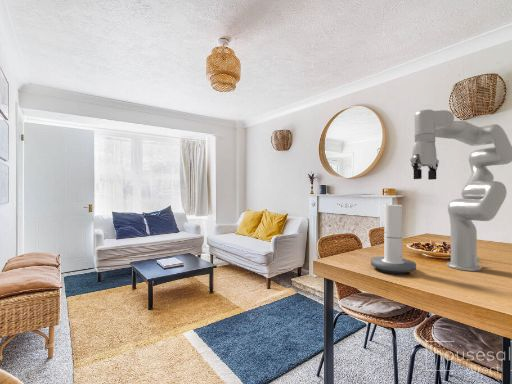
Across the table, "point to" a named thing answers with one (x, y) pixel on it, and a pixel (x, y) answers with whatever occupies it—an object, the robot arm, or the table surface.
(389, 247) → the cylindrical container
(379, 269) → the turntable base
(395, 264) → the disc
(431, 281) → the table surface
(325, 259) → the table surface
